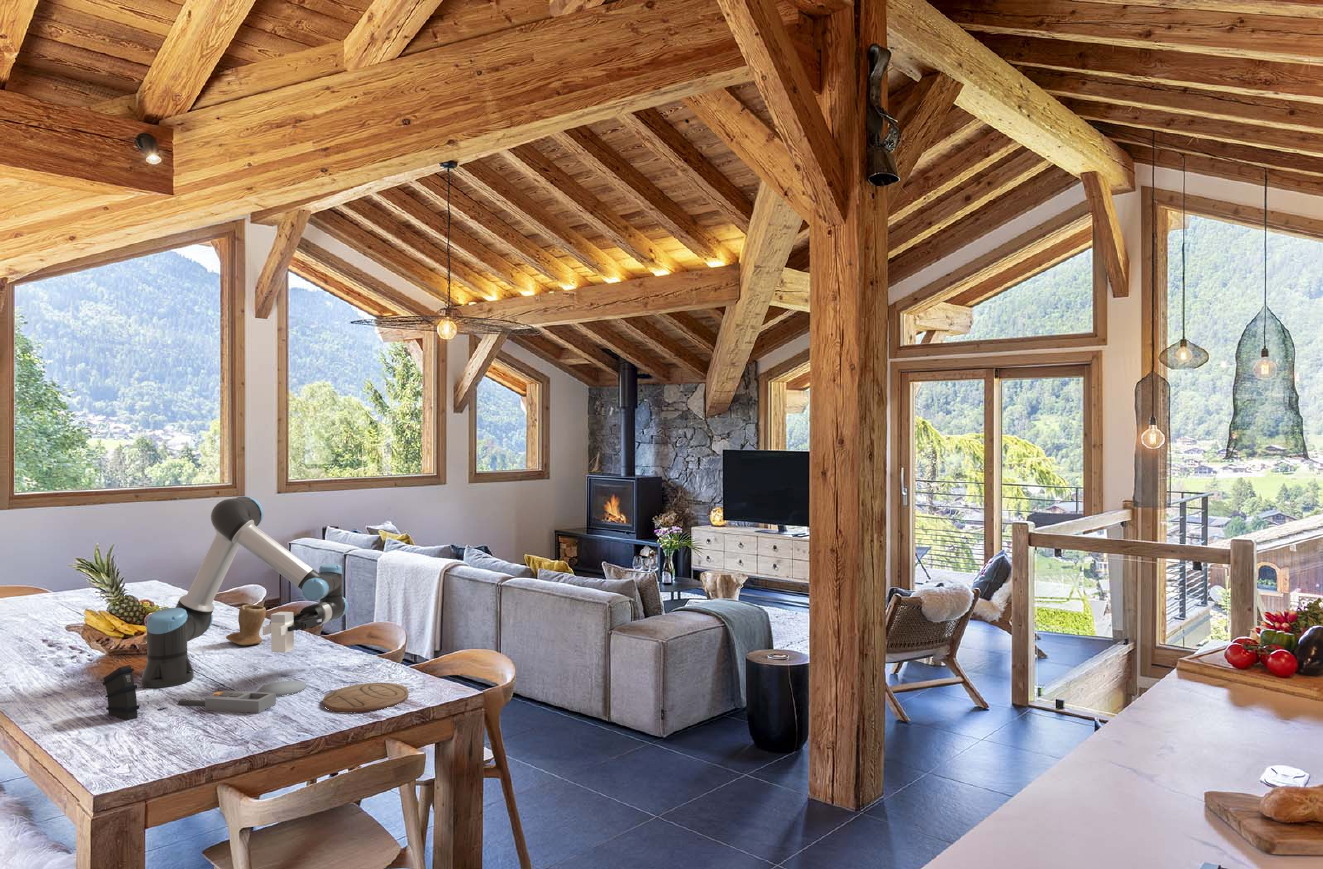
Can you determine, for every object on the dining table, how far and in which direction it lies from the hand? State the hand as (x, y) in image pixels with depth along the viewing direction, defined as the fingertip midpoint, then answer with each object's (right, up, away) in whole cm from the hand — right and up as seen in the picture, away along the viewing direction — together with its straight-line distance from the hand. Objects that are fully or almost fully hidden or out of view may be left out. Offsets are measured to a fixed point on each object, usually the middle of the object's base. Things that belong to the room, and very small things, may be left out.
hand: (272, 631), depth 269 cm
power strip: (-10, -20, -10) cm, 25 cm away
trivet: (+32, -21, -5) cm, 38 cm away
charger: (+1, -7, +5) cm, 9 cm away
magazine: (-36, -21, -18) cm, 46 cm away
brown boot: (-40, -21, +68) cm, 81 cm away
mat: (+1, -20, +5) cm, 21 cm away
